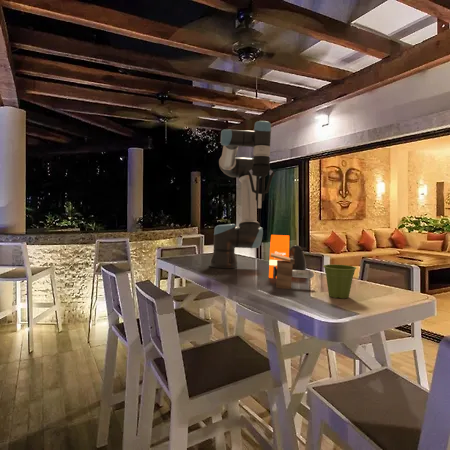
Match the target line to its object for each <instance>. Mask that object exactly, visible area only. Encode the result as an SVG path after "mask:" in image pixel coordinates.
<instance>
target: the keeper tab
mask: <svg viewBox="0 0 450 450" xmlns="http://www.w3.org/2000/svg"><path fill="white" fill-rule="evenodd" d="M270 257H273V258H277V259H281V260H285V261H289V262H290V259H293V258H290V257H286V256H282V255H278V254H274V253H271V256H270V255H269V258H270Z"/></svg>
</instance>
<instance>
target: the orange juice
mask: <svg viewBox="0 0 450 450" xmlns="http://www.w3.org/2000/svg"><path fill="white" fill-rule="evenodd" d="M269 246H270V247H269V261H268V263H269V264H268V267H269V268H268V278H269V279H273V266H276V269H277V260H281V259H277V258H273V257H270V256H271V253H274V254H278V255H282V256H286V257H289V250H290V235H287V234H286V235H285V234H284V235H283V234H271V235H270V245H269ZM276 278H277V276H276Z"/></svg>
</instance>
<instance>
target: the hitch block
mask: <svg viewBox="0 0 450 450" xmlns="http://www.w3.org/2000/svg"><path fill="white" fill-rule="evenodd" d="M290 258H293V256H290ZM294 261H295V259H290V262H289V261H285V260H277V278H276V279H275V280H276V282H275V288H276V289H285V290H286V289H288V290H292V279H293V277H292V264H294Z"/></svg>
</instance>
